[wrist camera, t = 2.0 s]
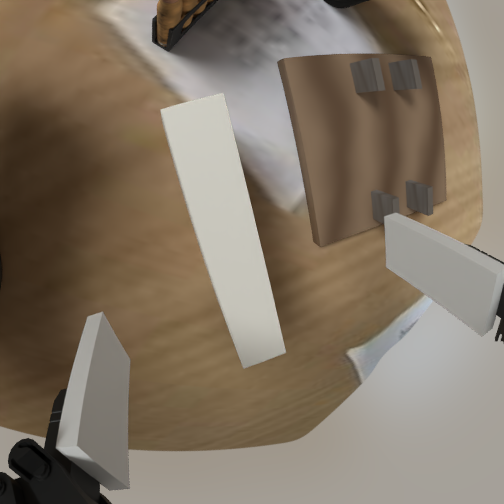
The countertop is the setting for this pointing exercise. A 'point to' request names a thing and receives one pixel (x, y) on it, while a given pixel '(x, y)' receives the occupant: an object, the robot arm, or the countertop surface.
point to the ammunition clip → (176, 20)
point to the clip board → (365, 138)
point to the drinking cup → (344, 3)
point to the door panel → (224, 223)
